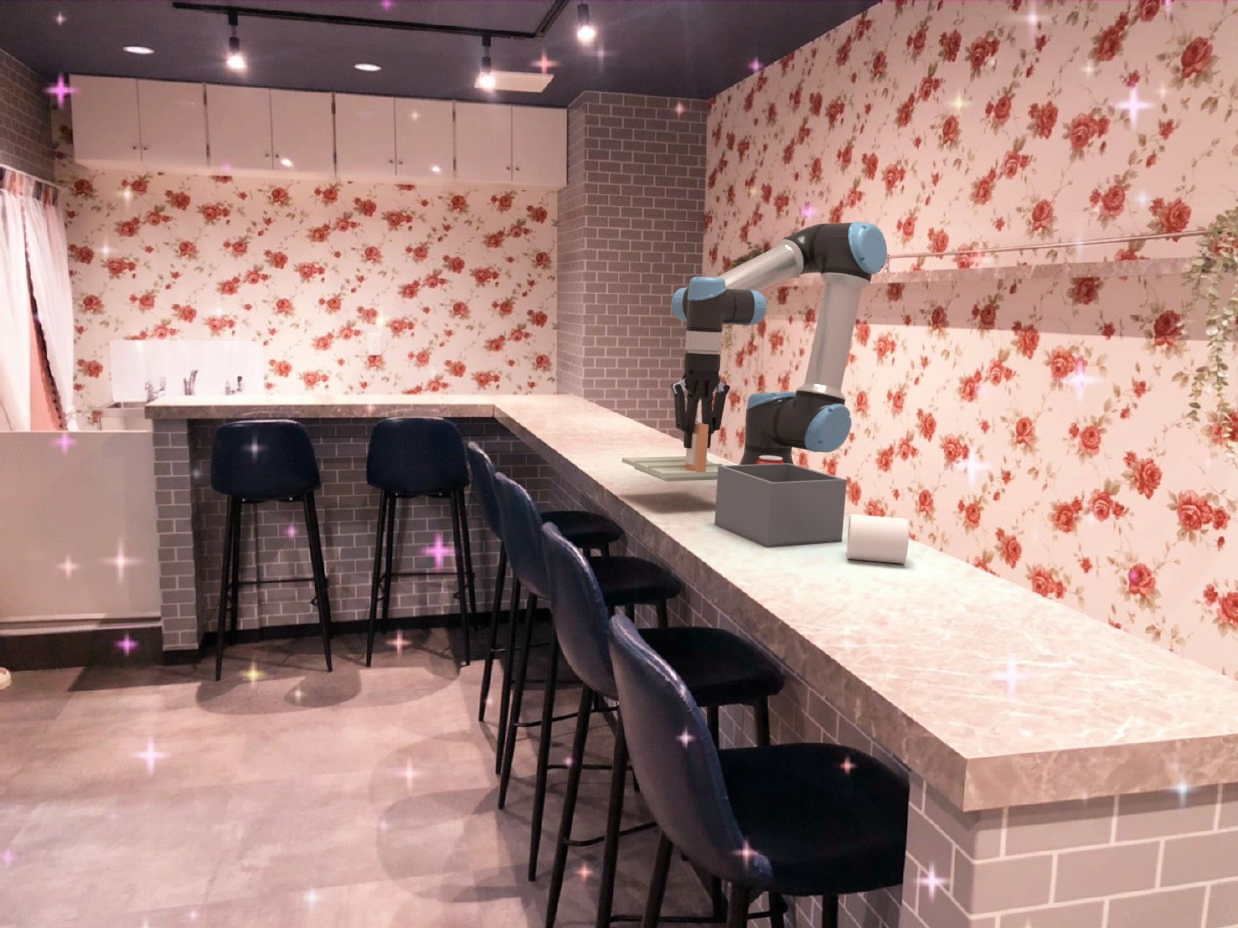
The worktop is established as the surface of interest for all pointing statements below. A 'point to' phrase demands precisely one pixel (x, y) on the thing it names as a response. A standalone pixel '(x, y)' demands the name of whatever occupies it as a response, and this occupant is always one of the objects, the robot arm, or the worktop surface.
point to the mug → (877, 539)
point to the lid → (680, 462)
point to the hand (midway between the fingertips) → (695, 463)
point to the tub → (780, 504)
